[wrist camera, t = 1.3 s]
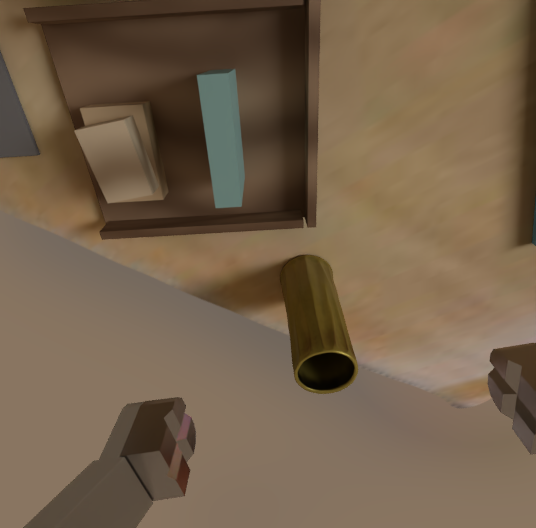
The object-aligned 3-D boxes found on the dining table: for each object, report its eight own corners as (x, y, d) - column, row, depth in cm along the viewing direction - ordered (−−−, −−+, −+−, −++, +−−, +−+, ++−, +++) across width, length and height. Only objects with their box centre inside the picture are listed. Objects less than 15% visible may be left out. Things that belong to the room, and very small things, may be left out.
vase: (269, 273, 40) (273, 369, 28) (313, 244, 38) (339, 334, 26) (299, 305, 43) (315, 407, 30) (342, 280, 41) (377, 377, 29)
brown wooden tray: (44, 13, 27) (17, 8, 24) (314, -4, 27) (320, -11, 24) (111, 224, 36) (97, 239, 33) (311, 212, 36) (315, 227, 33)
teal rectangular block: (210, 70, 28) (196, 75, 22) (235, 68, 28) (228, 73, 22) (224, 178, 33) (215, 208, 27) (245, 176, 33) (241, 206, 27)
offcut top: (86, 125, 28) (74, 130, 26) (132, 115, 28) (123, 119, 26) (116, 194, 31) (107, 203, 30) (159, 186, 31) (152, 194, 29)
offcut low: (91, 104, 30) (79, 108, 28) (149, 101, 29) (142, 104, 28) (117, 194, 34) (109, 203, 32) (168, 191, 34) (163, 199, 32)
